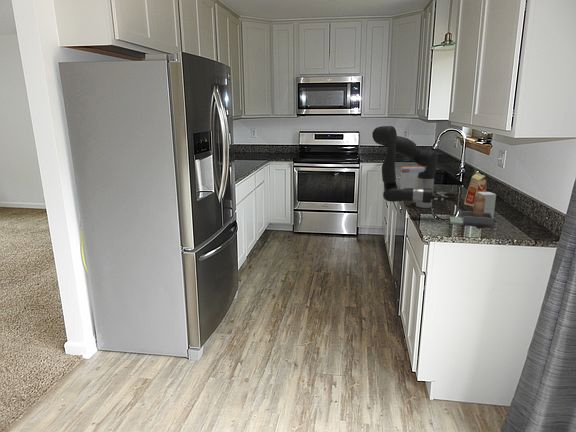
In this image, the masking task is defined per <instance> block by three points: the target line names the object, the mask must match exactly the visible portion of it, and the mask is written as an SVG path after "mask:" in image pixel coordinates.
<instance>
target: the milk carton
mask: <svg viewBox="0 0 576 432" xmlns="http://www.w3.org/2000/svg"><path fill="white" fill-rule="evenodd" d="M477 192H487V180H486V175H484V174H481V173H480V172H477V171H475V174H473V175H472V176H471V179H470V182H469V186H468V187H467V192H466V196H465V199H464V202H463V203H464V204H463V205H466V206H470V207H471V206H472V207H474V199H475V197H476V196H477Z"/></svg>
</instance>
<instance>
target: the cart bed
mask: <svg viewBox="0 0 576 432" xmlns="http://www.w3.org/2000/svg"><path fill="white" fill-rule="evenodd" d="M461 212H462V214H461V216H449V222H450V225H456V224H457V225H459V226H468V225H470V226H471V227H479V228H480V227H481V228H483V227H484V228H494V227H495V220H496V219H495V217H494V216H493V215H492V213H484V214H483V217H472V215H473V211H468V210H467V211H466V210H465V211H464V210H463V211H461ZM457 225H456V226H457Z"/></svg>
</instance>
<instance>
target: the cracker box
mask: <svg viewBox="0 0 576 432" xmlns="http://www.w3.org/2000/svg"><path fill="white" fill-rule="evenodd" d="M425 170H426V167H425V166H401V167H400V177H399V178H400V180H399V181H400V182H399V184H400V185H399V189H404V188H417V182H418V173H420V172H423V171H425Z"/></svg>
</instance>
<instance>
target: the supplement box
mask: <svg viewBox="0 0 576 432" xmlns="http://www.w3.org/2000/svg"><path fill="white" fill-rule="evenodd" d="M477 195H483V196H484V197H485V206H484V213H492V215H493V216H494V215H495V208H496V201H497V200H496V199H497V194H496V193H493V192H490V191H486V192H477Z"/></svg>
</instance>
